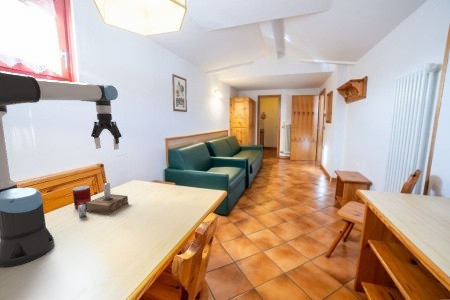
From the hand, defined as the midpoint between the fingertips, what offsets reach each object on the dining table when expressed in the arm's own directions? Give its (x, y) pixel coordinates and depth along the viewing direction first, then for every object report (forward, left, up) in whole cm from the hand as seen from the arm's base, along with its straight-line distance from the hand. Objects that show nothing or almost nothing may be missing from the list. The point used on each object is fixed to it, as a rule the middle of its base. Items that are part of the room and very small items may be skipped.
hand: (107, 148), depth 119 cm
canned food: (-13, +7, -32) cm, 35 cm away
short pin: (-23, -5, -32) cm, 39 cm away
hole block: (-11, -9, -32) cm, 35 cm away
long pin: (-11, -9, -32) cm, 35 cm away
